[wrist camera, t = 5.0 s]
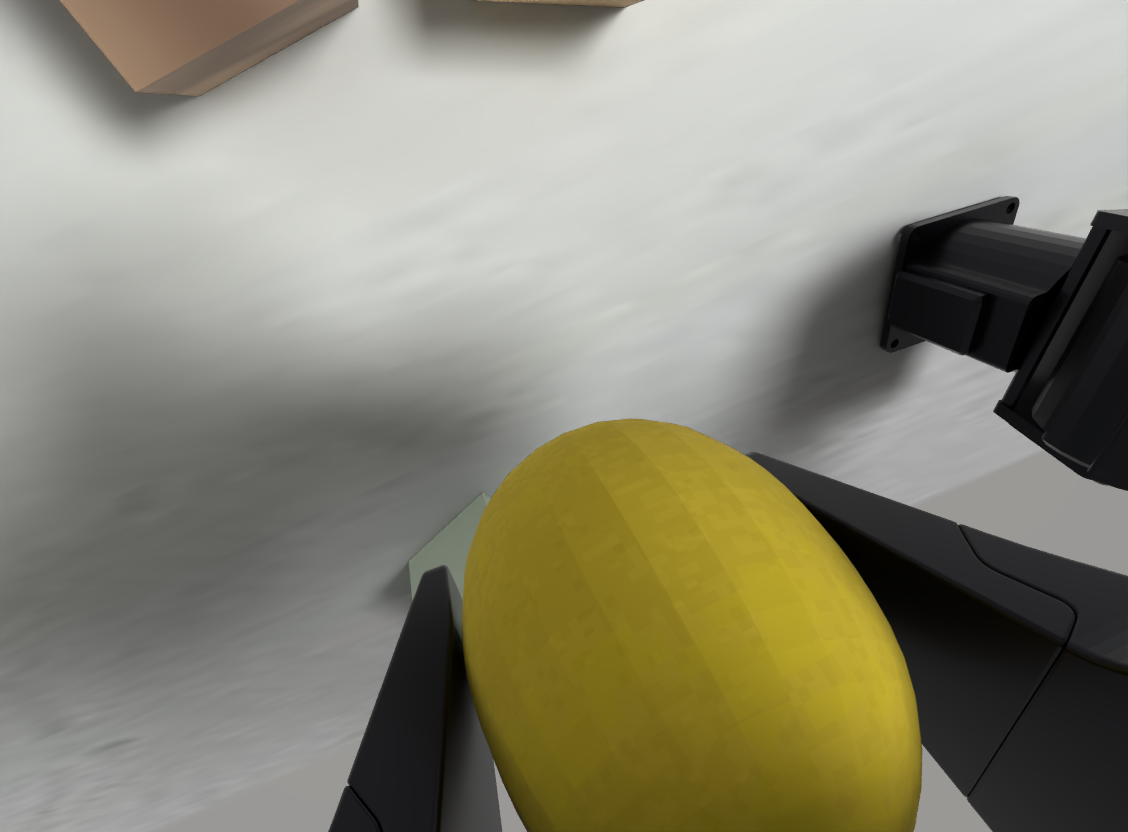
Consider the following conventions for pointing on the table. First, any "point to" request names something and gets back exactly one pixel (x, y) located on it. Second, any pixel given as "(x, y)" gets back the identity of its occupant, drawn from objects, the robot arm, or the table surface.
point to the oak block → (579, 2)
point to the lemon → (680, 647)
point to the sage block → (450, 546)
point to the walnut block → (197, 37)
